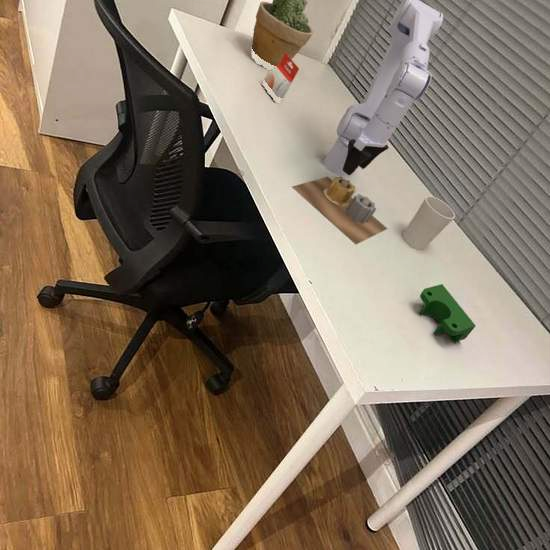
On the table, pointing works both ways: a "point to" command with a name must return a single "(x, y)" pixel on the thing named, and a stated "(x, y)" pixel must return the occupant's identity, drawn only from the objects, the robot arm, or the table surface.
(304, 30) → the potted plant
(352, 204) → the grey gear
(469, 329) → the clamp
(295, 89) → the table surface
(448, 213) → the cup
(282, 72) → the ink box
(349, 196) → the brass gear
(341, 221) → the board
